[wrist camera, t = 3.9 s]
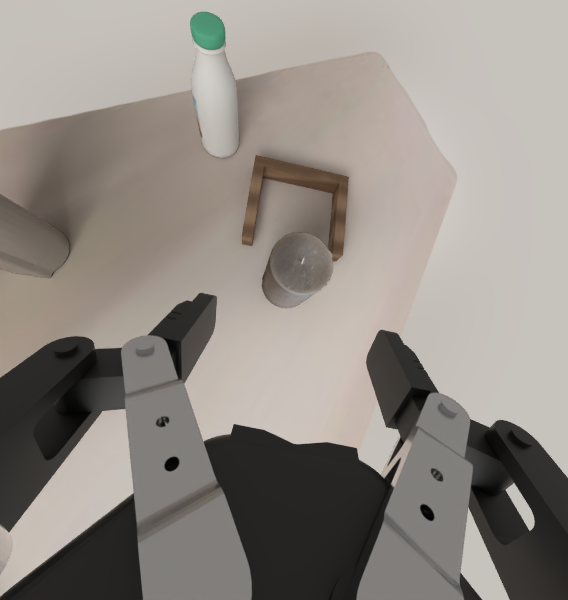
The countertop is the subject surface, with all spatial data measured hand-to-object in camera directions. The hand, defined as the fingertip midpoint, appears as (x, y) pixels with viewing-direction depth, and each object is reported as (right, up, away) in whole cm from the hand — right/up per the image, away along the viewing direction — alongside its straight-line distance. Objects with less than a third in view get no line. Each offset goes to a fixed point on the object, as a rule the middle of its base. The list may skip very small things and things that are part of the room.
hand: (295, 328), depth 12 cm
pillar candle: (0, +4, +37) cm, 37 cm away
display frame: (+2, +19, +40) cm, 44 cm away
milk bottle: (-14, +35, +40) cm, 55 cm away
